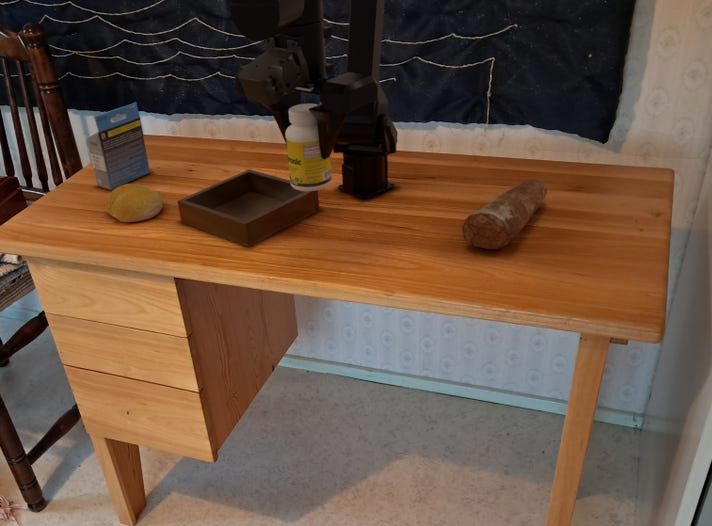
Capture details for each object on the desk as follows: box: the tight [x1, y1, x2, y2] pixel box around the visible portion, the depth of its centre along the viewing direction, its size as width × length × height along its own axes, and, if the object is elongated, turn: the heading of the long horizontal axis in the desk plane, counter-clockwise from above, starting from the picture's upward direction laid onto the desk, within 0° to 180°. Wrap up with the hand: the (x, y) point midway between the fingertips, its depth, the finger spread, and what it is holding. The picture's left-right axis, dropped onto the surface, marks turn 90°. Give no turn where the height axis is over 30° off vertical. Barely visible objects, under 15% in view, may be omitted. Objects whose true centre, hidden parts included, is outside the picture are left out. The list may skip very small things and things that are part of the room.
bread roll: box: [104, 183, 164, 223], centre depth 113 cm, size 8×9×4 cm
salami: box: [461, 178, 548, 250], centre depth 98 cm, size 6×19×6 cm, turn 144°
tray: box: [177, 168, 320, 248], centre depth 109 cm, size 15×15×4 cm
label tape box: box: [86, 101, 151, 191], centre depth 123 cm, size 9×4×12 cm, turn 141°
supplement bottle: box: [285, 103, 332, 191], centre depth 93 cm, size 5×5×10 cm
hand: (308, 154), depth 93 cm, fingers closed on supplement bottle, 5 cm apart
